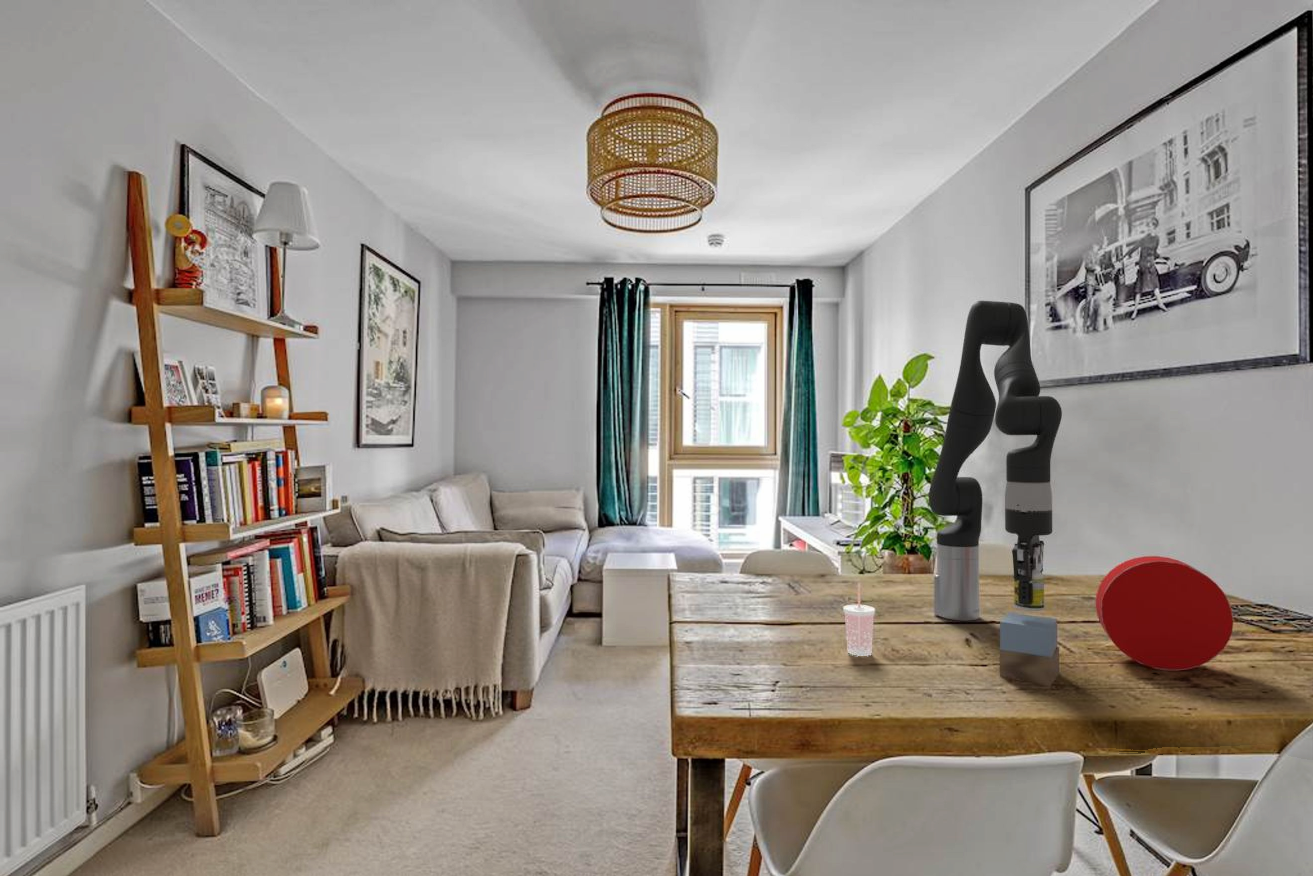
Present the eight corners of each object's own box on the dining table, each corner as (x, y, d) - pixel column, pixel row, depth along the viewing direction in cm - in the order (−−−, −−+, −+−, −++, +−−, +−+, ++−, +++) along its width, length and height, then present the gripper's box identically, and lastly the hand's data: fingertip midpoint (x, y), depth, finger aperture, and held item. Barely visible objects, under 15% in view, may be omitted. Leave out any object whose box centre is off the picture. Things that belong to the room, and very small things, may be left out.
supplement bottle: (1008, 605, 126) (1008, 559, 127) (1033, 604, 127) (1033, 559, 127) (1024, 612, 122) (1024, 564, 122) (1050, 611, 122) (1050, 564, 122)
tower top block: (1000, 649, 124) (1000, 621, 124) (1008, 638, 130) (1008, 612, 130) (1051, 657, 119) (1050, 628, 119) (1057, 646, 125) (1057, 618, 125)
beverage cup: (875, 650, 139) (875, 580, 139) (875, 659, 134) (874, 587, 133) (844, 647, 141) (844, 579, 141) (842, 656, 136) (841, 585, 135)
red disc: (1222, 667, 128) (1221, 559, 127) (1233, 677, 122) (1233, 564, 122) (1095, 654, 136) (1095, 552, 136) (1101, 663, 130) (1100, 557, 130)
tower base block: (999, 677, 124) (999, 649, 124) (1010, 665, 130) (1010, 639, 130) (1050, 687, 119) (1049, 658, 119) (1059, 674, 125) (1059, 647, 125)
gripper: (1014, 502, 132) (1015, 591, 132) (995, 509, 121) (996, 605, 121) (1059, 504, 127) (1060, 596, 127) (1043, 511, 116) (1044, 612, 116)
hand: (1028, 600), depth 124 cm, fingers closed on supplement bottle, 4 cm apart
